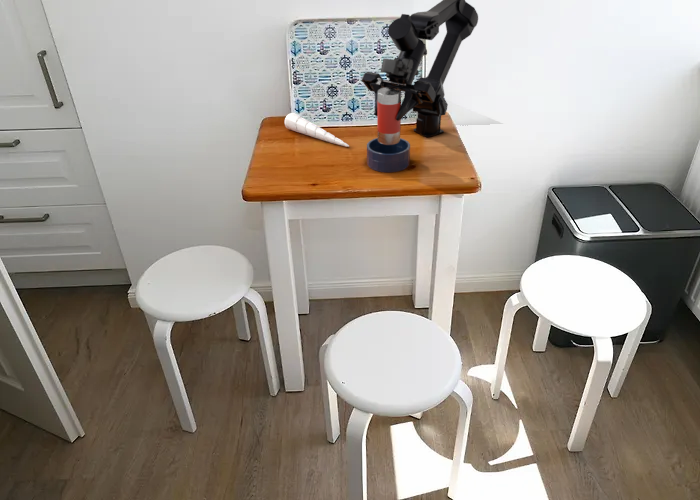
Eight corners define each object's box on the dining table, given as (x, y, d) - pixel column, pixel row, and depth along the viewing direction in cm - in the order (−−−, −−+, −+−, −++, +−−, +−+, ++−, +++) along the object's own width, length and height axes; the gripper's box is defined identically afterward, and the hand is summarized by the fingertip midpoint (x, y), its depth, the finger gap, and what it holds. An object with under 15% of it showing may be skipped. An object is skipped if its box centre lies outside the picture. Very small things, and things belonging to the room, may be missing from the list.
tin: (383, 134, 152) (383, 85, 144) (403, 138, 149) (405, 88, 142) (373, 142, 148) (373, 93, 140) (394, 146, 145) (395, 96, 138)
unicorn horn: (339, 152, 158) (339, 136, 155) (283, 130, 172) (282, 114, 169) (351, 147, 161) (351, 130, 158) (295, 125, 175) (294, 110, 172)
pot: (392, 150, 158) (392, 133, 156) (418, 164, 151) (419, 147, 148) (358, 160, 154) (358, 143, 151) (383, 176, 146) (383, 158, 143)
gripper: (364, 39, 142) (341, 96, 141) (433, 48, 134) (409, 110, 132) (380, 62, 152) (359, 116, 151) (445, 73, 144) (423, 130, 142)
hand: (386, 117), depth 144 cm, fingers closed on tin, 6 cm apart
